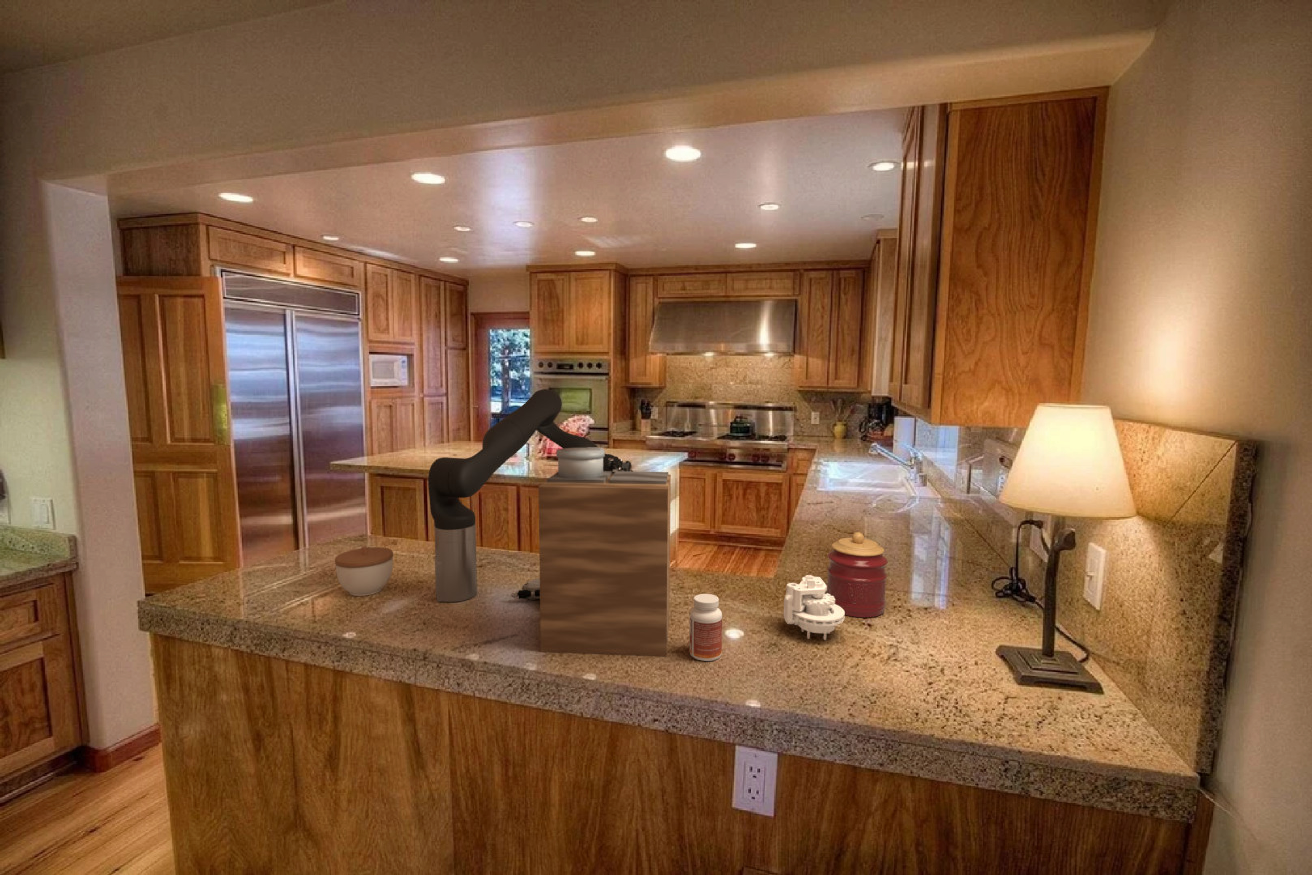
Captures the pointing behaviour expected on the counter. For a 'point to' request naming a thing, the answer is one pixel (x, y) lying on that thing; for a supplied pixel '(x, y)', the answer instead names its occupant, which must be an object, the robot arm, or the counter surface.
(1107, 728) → the counter surface
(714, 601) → the pill bottle
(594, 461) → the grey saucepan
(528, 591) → the robot toy
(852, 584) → the canister
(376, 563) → the lidded bowl
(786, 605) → the mechanical part
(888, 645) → the counter surface
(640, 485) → the wooden box
